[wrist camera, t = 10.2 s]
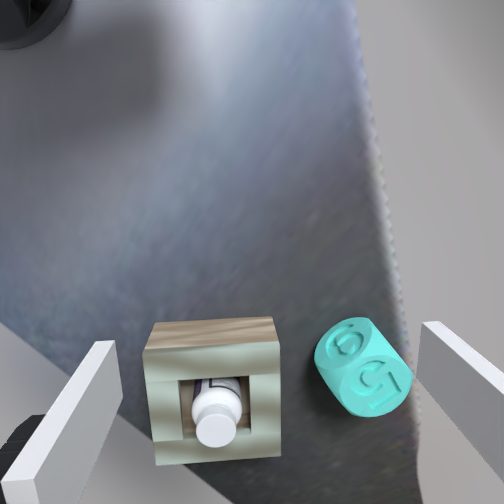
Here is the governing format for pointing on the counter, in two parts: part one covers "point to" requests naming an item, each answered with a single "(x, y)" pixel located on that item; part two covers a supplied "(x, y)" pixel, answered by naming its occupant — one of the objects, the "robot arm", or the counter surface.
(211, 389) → the pill bottle
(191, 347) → the grey hollow square block
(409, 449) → the counter surface
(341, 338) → the engraved teal number block
